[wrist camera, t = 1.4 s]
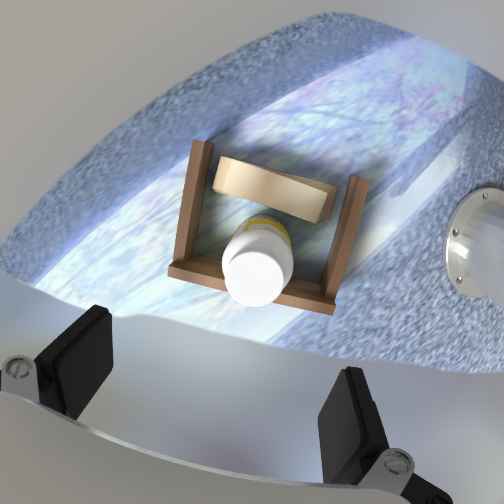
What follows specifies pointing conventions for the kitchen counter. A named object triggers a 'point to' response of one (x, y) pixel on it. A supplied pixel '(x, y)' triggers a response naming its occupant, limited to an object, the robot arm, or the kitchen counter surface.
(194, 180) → the walnut rack
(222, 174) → the middle offcut
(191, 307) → the kitchen counter surface
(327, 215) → the bottom offcut
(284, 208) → the top offcut
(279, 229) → the supplement bottle
